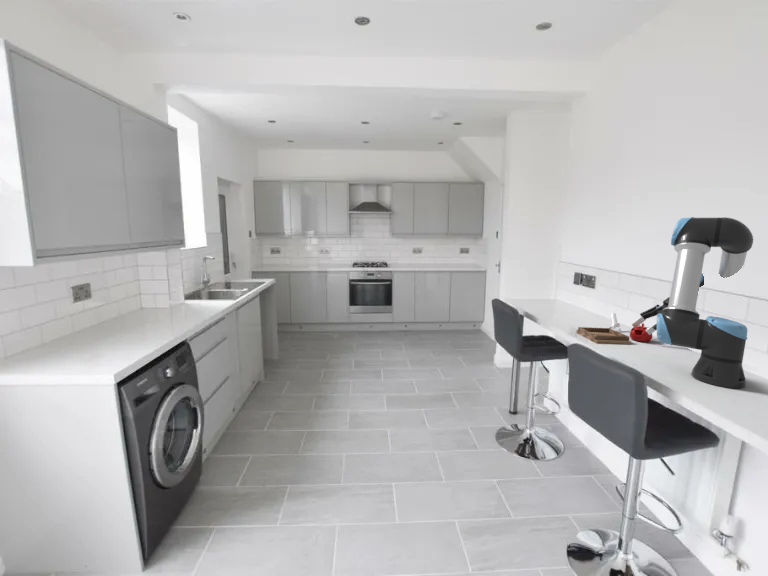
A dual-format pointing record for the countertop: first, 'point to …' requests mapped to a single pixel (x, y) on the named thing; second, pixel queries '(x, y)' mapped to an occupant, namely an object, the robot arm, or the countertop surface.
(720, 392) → the countertop surface
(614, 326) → the hook
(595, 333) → the tray
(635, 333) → the pomegranate
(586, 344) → the countertop surface
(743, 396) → the countertop surface
